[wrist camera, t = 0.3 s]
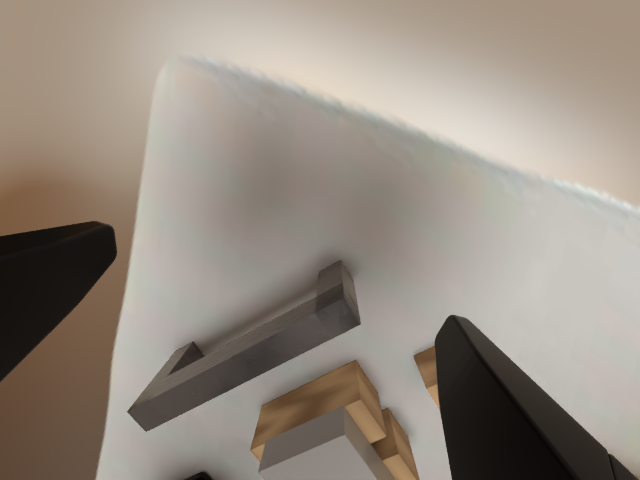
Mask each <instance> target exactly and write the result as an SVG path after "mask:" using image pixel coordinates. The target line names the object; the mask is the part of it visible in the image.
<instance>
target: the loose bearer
mask: <svg viewBox="0 0 640 480" xmlns="http://www.w3.org/2000/svg"><path fill="white" fill-rule="evenodd" d="M414 359H415V361H416V363H417V366H418V368H419V371H420V373H421V376H422V378H423V381H424V383H425V386H426V388H427V390H428V392H429V393H430V395H431V397H432V398H433V400H434V401H435V403H436V405H437V406H438V408H439V410H440V406H439V399H438V387H437V372H436V357H435V346H434V347H432V348H429V349H427V350H425V351H423V352H421V353H419V354H416V355H414Z"/></svg>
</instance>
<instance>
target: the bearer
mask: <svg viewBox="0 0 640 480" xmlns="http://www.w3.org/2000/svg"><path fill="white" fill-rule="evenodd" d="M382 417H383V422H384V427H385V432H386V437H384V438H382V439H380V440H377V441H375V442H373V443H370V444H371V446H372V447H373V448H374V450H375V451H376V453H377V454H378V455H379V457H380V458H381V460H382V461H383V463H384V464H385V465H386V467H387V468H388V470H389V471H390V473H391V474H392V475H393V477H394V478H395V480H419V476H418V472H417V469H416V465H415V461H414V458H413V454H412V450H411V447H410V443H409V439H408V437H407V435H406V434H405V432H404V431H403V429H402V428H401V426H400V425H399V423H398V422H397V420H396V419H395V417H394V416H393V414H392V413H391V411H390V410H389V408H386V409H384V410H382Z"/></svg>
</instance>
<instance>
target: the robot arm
mask: <svg viewBox="0 0 640 480" xmlns="http://www.w3.org/2000/svg"><path fill="white" fill-rule="evenodd" d="M116 255H117V247H116V239H115V232H114V229H113V227H112V226H111V225H109V224H105V223H101V222H97V221H91V222H85V223H78V224H72V225H66V226H60V227H54V228H48V229H42V230H36V231H29V232H23V233H17V234H11V235H5V236H0V382H1V381H2V380H3V379H4V378H5V377H6V376H7V375H8V374H9V373H10V372H11V371H12V370H13V369H14V368H15V367H16V366H17V365H18V364H19V363H20V362H21V361H22V360H23V359H24V358H25V357H26V356H27V355H28V354H29V353H30V352H31V351H32V350H33V349H34V348H35V347H36V346H37V345H38V344H39V343H40V342H41V341H42V340H43V339H44V338H45V337H46V336H47V335H48V334H49V333H50V332H51V331H52V330H53V329H54V328H55V327H56V326H57V325H58V324H59V323H60V322H61V321H62V320H63V319H64V318H65V317H66V316H67V315H68V314H69V313H70V312H71V311H72V310H73V309H74V308H75V307H76V306H77V305H78V304H79V303H80V301H81V300H82V299H83V298H84V297H85V295H86V294H87V293H88V292H89V291H90V289H91V288H92V287H93V286H94V284H95V283H96V282H97V281H98V280H99V278H100V277H101V276H102V275H103V274H104V272H105V271H106V270H107V269H108V267H109V266H110V265H111V264H112V263H113V261H114V260H115V258H116ZM435 357H436V372H437V387H438V399H439V406H440V413H441V418H442V424H443V430H444V436H445V441H446V447H447V453H448V458H449V464H450V470H451V476H452V480H638V479H637V478H636V477H635V476H634V475H633V474H632V473H631V472H630V471H629V470H628V469H627V468H626V467H624V466H623V465H622V464H621V463H620V462H619V461H618V460H617V459H616V458H615V457H614V456H613V455H611V454H608V452H607V450H606V449H605V448H604V447H603V446H602V445H601V444H600V443H599V442H598V441H597V440H596V439H595V438H594V437H593V436H591V435H590V434H589V433H588V432H587V431H586V430H585V429H584V428H583V427H582V426H581V425H580V424H579V423H578V422H577V421H576V420H574V419H573V418H572V417H571V416H570V415H569V414H568V413H567V412H566V411H565V410H564V409H563V408H562V407H561V406H560V405H559V404H557V403H556V402H555V401H554V400H553V399H552V398H551V397H550V396H549V395H548V394H547V393H546V392H545V391H544V390H543V389H542V388H540V387H539V386H538V385H537V384H536V383H535V382H534V381H533V380H532V379H531V378H530V377H529V376H528V375H527V374H526V373H525V372H523V371H522V370H521V369H520V368H519V367H518V366H517V365H516V364H515V363H514V362H513V361H512V360H511V359H510V358H509V357H508V356H506V355H505V354H504V353H503V352H502V351H501V350H500V349H499V348H498V347H497V346H496V345H495V344H494V343H493V342H492V341H491V340H489V339H488V338H487V337H486V336H485V335H484V334H483V333H482V332H481V331H480V330H479V329H478V328H477V327H476V326H475V325H474V324H472V323H471V322H470V321H469V320H468V319H467V318H464V317H460V316H456V315H450V316H449V317H448V318H447V319H446V321H445V322H444V324H443V326H442V327H441V329H440V331H439V332H438V334H437V336H436V339H435ZM187 480H211V479H210V478H209V477H208V476H207V475H206V474H204V473H201V474H198V475H196V476H194V477H191V478H189V479H187Z"/></svg>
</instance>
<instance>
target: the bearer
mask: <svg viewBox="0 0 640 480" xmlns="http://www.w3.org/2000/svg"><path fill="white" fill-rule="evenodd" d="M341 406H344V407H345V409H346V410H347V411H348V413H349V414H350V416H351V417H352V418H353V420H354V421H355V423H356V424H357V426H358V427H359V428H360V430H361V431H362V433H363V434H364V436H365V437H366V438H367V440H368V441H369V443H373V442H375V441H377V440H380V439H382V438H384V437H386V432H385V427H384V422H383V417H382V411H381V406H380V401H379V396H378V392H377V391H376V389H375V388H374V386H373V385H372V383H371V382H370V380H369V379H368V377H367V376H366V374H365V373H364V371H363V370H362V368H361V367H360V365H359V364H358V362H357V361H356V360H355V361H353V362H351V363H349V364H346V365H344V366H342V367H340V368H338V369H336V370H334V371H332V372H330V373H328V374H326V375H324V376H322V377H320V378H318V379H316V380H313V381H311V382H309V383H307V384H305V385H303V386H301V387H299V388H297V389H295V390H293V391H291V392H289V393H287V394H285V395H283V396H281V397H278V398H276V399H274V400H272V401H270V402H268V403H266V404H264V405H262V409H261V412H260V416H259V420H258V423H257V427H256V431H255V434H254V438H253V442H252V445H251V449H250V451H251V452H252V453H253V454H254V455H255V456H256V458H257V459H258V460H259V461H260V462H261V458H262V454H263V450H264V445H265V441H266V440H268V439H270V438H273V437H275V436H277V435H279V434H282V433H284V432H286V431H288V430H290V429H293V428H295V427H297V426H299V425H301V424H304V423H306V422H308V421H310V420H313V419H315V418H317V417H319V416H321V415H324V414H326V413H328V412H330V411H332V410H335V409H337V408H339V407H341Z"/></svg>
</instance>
